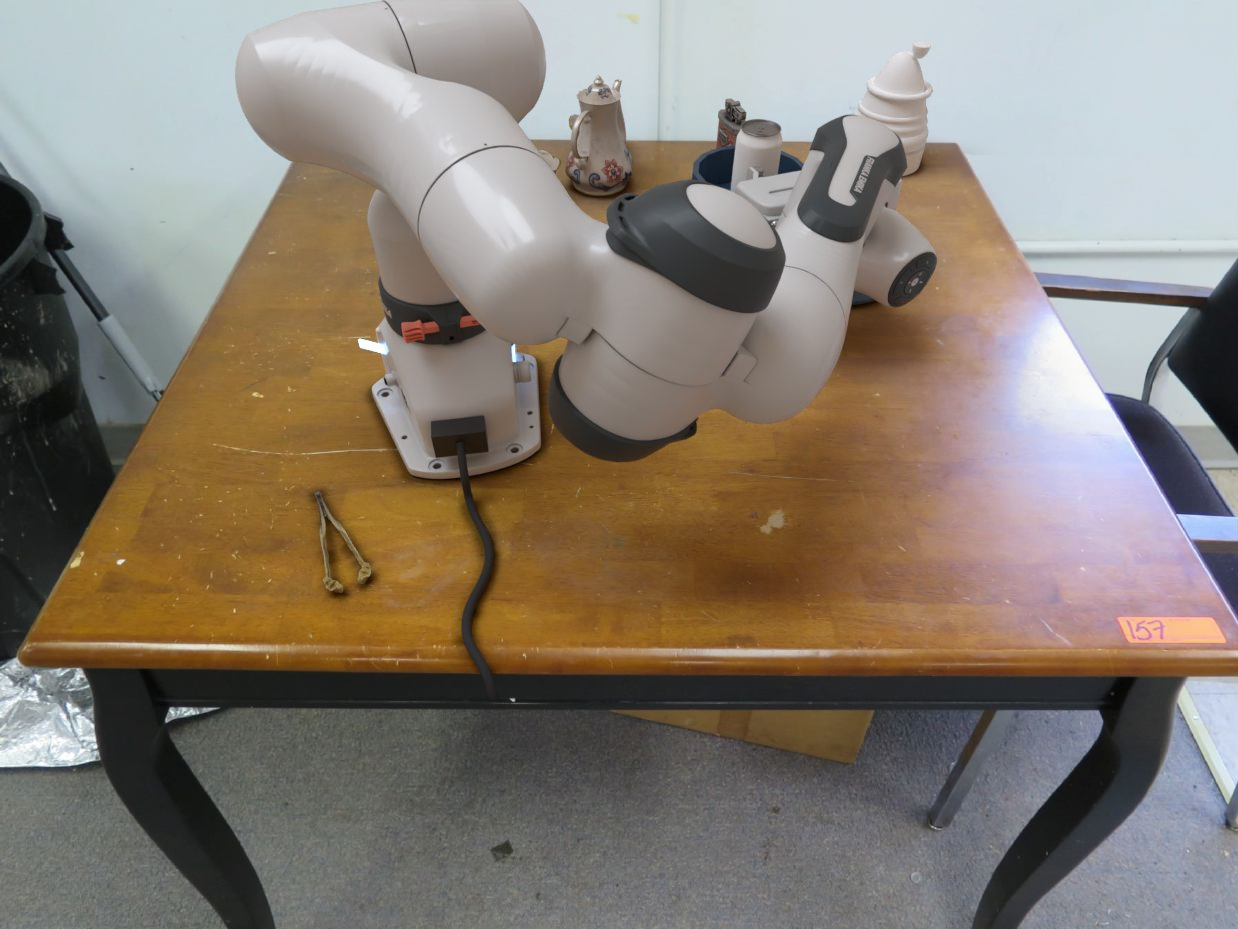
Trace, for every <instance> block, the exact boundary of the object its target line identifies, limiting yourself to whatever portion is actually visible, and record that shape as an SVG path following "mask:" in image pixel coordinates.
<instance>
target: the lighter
mask: <svg viewBox="0 0 1238 929" xmlns="http://www.w3.org/2000/svg"><path fill="white" fill-rule="evenodd" d="M717 119H718V125H717V136H716V146H715V149H716V148H719V147H726V146H734V145H736V139H737V135H738V133H739V131H740V130H741V125H742V123H743V122H745V121H747V120H746V119H747V111H746V110H745V109H744V108H743V107H742V106H741V102H740V100H734V99H733V98H732V97H731V98H725V101H724V109H720V110H718V113H717Z"/></svg>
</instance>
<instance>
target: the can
mask: <svg viewBox="0 0 1238 929" xmlns="http://www.w3.org/2000/svg"><path fill="white" fill-rule="evenodd" d="M782 147H783V136H782V127H781V125H780V124H779V123H777V122H775V121H773V120H770V119H764V118H753V119H748V120H746V121H745V122H743V123H742V125H741V130H740V131H739V133H738V135H737V139H736V146H735V155H734V163H733V172H732V181H731V190H730V191H732V192H734V193H735V190H736V187H737V185H738V183H739V182H741V181H745V180H747V170H748V168H750V167H756V166H759V167H760V168H762V169H763V170H764V173H763V176H762V177H768V176H773V175H777V174H778V168H779V161H780V155H781V151H782Z"/></svg>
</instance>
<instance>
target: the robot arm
mask: <svg viewBox="0 0 1238 929" xmlns="http://www.w3.org/2000/svg"><path fill="white" fill-rule="evenodd" d="M235 61H236V62H235V68H234V81H235V82H234V83H235V90H236V94H237V99H238V102H239V105H240V108H241V110H242V113H243V115H244V117H245V119H246V121H247V122H248V124H249V126H250V127H251V129H252V130H253V131H254V134H256V136H258V138H259V139H260V140H261V141H262V142H263V143H264V144H265V145H266V146H267V147H268V148H270V149H271V150H272V151H273V152H274V153H276V154H277V155H278V156H279V157H281V158H284V159H285V160H287V161H289V162H293V163H294V162H295V163H302V164H309V165H314V166H315V165H316V166H320V167H325V168H327V169H328V168H329V169H330V170H331V169H332V170H333V171H334V170H335V171H337V172H341V173H343V174H346V175H348V176H351V177H353V178H356V180H360V181H361V182H363V183H366V184H367V185H369V186H370V187H372V188H375V191H374V192H373V194H372V196H371V199H370V202H369V205H368V209H367V213H366V224H367V228H368V232H369V236H370V241H371V244H372V249H373V253H374V256H375V260H376V264H377V269H378V272H379V276H378V280H377V281H378V282H377V285H378V291H379V292H378V295H379V299H380V304H381V307H382V309H383V312H384V317H383V319H382V320H381V322H380V323H379V324H378V326H377V327H376V328H375V334H376V339H377V342H374V341H370V340H368V339H367V340H366V339H362V338H359V339H357V341H358V345H359V348H360V349H364V350H369V351H372V352H376V353H380V355H381V359H382V362H383V367H384V371H385V374H384V375H383V377H381V378H379V379H378V380H377V381H375V383H374V384H373V385H372V386H371V394H372V399H373V400H374V403H375V404H376V407H377V409H378V411H379V413H380V415H381V418H382V419H383V422H384V424H385V426H386V428H387V430H388V432H389V434H390V436H391V438H392V441H393V443H394V445H395V447H396V449H397V451H398V453H399V455H400V457H401V460H402V462H403V464H404V466H405V468H406V470H407V472H408V473H409V475H411V476H414V477H417V478H423V479H431V480H445V479H446V480H447V479H448V480H449V479H457V478H460V483H461V487H462V488H461V489H462V494H463V497H464V502H465V505H466V508H467V510H468V514H469V516H470V518H471V520H472V522H473V524H474V525H475V528H476V531H477V532H478V534H479V537H480V538H481V541H482V544H483V549H484V550H483V551H484V562H483V567H482V570H481V572H480V575H479V578H478V579H477V581H476V583H475V585H474V587H473V589H472V590H471V593H470V594H469V596H468V598H467V601H466V602H465V605H464V608H463V611H462V615H461V625H460V628H461V629H460V630H461V637H462V642H463V644H464V647H465V649H466V651H467V653H468V655H469V656H470V658H471V660H472V662H473V663H474V665H475V666H476V669H477V670H478V672H479V674H480V676H481V680H482V681H483V684H484V688H485V692H486V695H487V698H488V699H490V700H495V699H496V698H497V697H498V690H497V686H496V682H495V679H494V676H493V673H492V671H491V669H490V667H489V665H488V663H487V661H486V659H485V658H484V656H483V654H482V653H481V652H480V650H479V648H478V646H477V645H476V642H475V640H474V638H473V632H472V619H473V615H474V611H475V609H476V606H477V603H478V601H479V599H480V597H481V595H482V594H483V591H484V590H485V588H486V586H487V584H488V581H489V579H490V577H491V574H492V572H493V567H494V560H495V553H494V545H493V541H492V538H491V534H490V533H489V530H488V529H487V526H486V524H485V523H484V521H483V520H482V517H481V515H480V513H479V510H478V509H477V506H476V502H475V499H474V495H473V492H472V486H471V481H470V477H472V476H477V475H481V474H482V475H483V474H486V473H491V472H494V471H495V472H496V471H498V470H501V469H504V468H507V467H511V466H513V465H516V464H518V463H520V462H523V461H524V460H526V459H528V458H529V457H531V456H533V455H534V454H535V453H537V452H538V451H539V450H540V449H541V447H542V432H541V431H542V430H541V428H542V427H541V407H540V388H539V368H538V363H537V359H536V358H535V357H534V356H533V355H530V354H527V353H524V352H518V347H517V346H527V347H528V346H539V345H543V344H548V343H551V342H553V341H556V340H558V339H560V338H563V339H565V340H567V343H566V346H565V348H564V351H563V353H562V354H561V355H559V357H558V358H557V359H556V361H555V363H554V366H553V371H552V373H551V377H550V380H549V384H548V385H549V386H548V390H547V410H548V414H549V417H550V419H551V421H552V423H553V425H554V427H555V428H556V429H557V431H558V432H559V433H560V434H561V435H562V437H564V438H565V439H566V440H567V441H568V443H570V444H571V445H572V446H573V447H575V448H576V449H578V450H579V451H580V452H581V453H584V454H585V455H588V456H590V457H592V458H594V459H598V460H601V461H605V462H613V463H631V462H637V461H639V460H643V459H646V458H647V457H649V456H651V455H654V454H655V453H656V452H658V451H660V450H662V449H664V448H666V446H668V445H670V444H673V443H677V442H681V441H686V440H689V439H690V438H692V437H694V436H695V435H696V434H697V432H698V431H697V429H698V420H699V419H700V417H701V416H702V415H703V414H705V413H706V412H708V411H711V410H722V411H724V412H726V413H727V414H729V415H730V416H732V417H734V418H736V419H738V420H741V421H743V422H746V423H750V424H755V425H772V424H778V423H782V422H785V421H788V420H790V419H792V418H794V417H795V416H798V415H799V414H800V413H802V412H803V411H805V409H807V408H808V407H809V406H810V405H811V403H813V401H814V400H815V399H816V398H817V397H818V395H819V394H820V393H821V391H822V390H823V388H824V387H826V386H825V385H826V384H827V383H828V381H829V379H830V377H831V375H832V374H833V372H834V370H835V368H836V366H837V363H838V361H839V359H840V357H841V353H842V351H843V347H844V343H845V340H846V336H847V332H848V326H849V321H850V314H851V308H852V305H851V304H852V298H853V292H854V291H856V292H859V293H862V294H864V295H867V296H869V297H871V298H872V299H874V300H875V302H877V303H879V304H881V305H882V306H884V307H888V308H892V309H893V308H894V309H895V308H896V309H897V308H900V307H903V306H905V305H907V304H909V303H910V302H911V301H913V300H914V299H915V298H917V296H919V295H920V294H921V293H922V292H923V290H924V289H925V287H926V286H927V284H928V283H929V282H930V279H931V278H932V276H933V274H934V272H935V270H936V267H937V264H938V256H937V253H936V251H935V249H934V247H933V245H932V244H931V243H930V241H929V240H928V239H927V238H926V237H925V236H924V234H923V233H922V232H921V231H920V230H919V229H918V228H917V227H916V226H915V225H914V224H913V223H912V222H910V221H909V220H908V219H907V218H906V217H905V216H903V215H902V214H901V213H900V212H899V211H897V207H898V203H899V200H900V196H901V190H902V185H903V179H902V178H903V176H902V175H903V174H904V172H905V171H906V169H907V160H906V154H905V150H904V147H903V144H902V141H901V139H900V137H899V136H898V135H897V134H896V133H895V132H893V131H892V130H891V129H889V128H888V127H887V126H885V125H884V124H882V123H880V122H878V121H876V120H873V119H870V118H867V117H863V116H858V115H853V114H844V115H841V116H838V117H835V118H834V119H831V120H829V121H827V122H826V123H824V124H823V125H821V126H819V127H818V128H817V129H816V131H815V134H814V136H813V139H812V142H811V144H810V146H809V152H808V154H807V157H806V158H805V161H804V162H803V164H804V165H803V167H802V170H801V171H795V172H790V173H784V174H779V175H773V176H768V177H762V176H763V173H764V170H763V169H762V168H760V167H759V166H756V167H750V168H748V170H747V180H745V181H741V182H739V183H738V185H737V187H736V190H735V193H734V192H732V191H729V190H727V189H724V188H721V187H719V186H716V185H714V184H711V183H708V182H704V181H699V180H689V179H686V180H687V181H682V180H679V181H680V182H676V181H672V182H667V183H664V184H657V185H654V186H653V187H651V188H649V189H647V190H645V191H644V192H642V193H640V194H638V193H634V192H626V193H623V194H620V195H618V196H617V197H616V198H614V199H613V200H612V201H611V202H610V203H609V204H608V206H607V208H606V213H605V215H606V221H607V223H604V222H602V221H600V220H597V219H595V218H593V217H591V216H590V215H588V214H586V212H584V211H583V210H582V209H581V208H580V207H579V206H578V205H577V203H576V202H575V201H574V199H573V198H572V197H571V195H570V194H569V193H568V191H567V189H566V188H565V186H564V185H563V183H562V182H561V180H560V179H559V177H558V176H557V174H555V173H554V172H553V170H552V169H551V168H550V166H549V165H548V163H547V162H546V161H545V159H544V158H543V157H542V155H541V154H540V153H539V151H538V150H539V149H537V147H536V146H535V144H534V143H533V141H531V139H530V137H528V135H527V134H526V132H525V131H524V130H523V128H522V127H521V125H520V123H521V122H522V121H523V119H525V118H526V116H527V115H528V114H529V113H530V112H531V111H533V109H534V108H535V107H536V105H537V103H538V101H539V100H540V97H541V95H542V92H543V89H544V85H545V81H546V75H547V74H546V73H547V55H546V48H545V44H544V39H543V37H542V33H541V31H540V30H539V27H538V24H537V23H536V21H535V19H534V18H533V16H532V14H531V13H530V12H529V10H528V9H527V7H525V6H524V4H522V2H521V1H520V0H378V1H377V0H376V1H371V2H365V3H357V4H351V5H344V6H337V7H330V8H323V9H316V10H310V11H303V12H300V13H297V14H294V15H292V16H289V17H285V18H283V19H280V20H277V21H275V22H272V23H270V24H268V25H265V26H262V27H261V28H258V29H256V30H253V31H251V32H248V33H247V34H246V35H245V37H244V39H243V40H242V42H241V44H240V47H239V50H238V53H237V56H236V60H235Z"/></svg>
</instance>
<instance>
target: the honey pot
mask: <svg viewBox="0 0 1238 929" xmlns="http://www.w3.org/2000/svg"><path fill="white" fill-rule="evenodd" d="M931 47H932V45H931V43H930V42H926V41H914V42H913V43H912V47H911V48H912V50H911V51H909V50H901V51H900V52H898V53H896V54H895V55H893V56H892V57H890V59H889V60H887V61H886V63H885V64H884V65H883V66H882V67H881V69H880V70H879V71H878V73H877V74H876V75H874V76H871V77H870V78H869V79H868V80H867V82H866V85H865V86H866V89H867V90H866V91H865V93H864V95H863V97H862V98H861V99H860V100H859V101H858V103H857V107H856V108H855V109H854V111H853V113H852V115H858V116H863V117H867V118H870V119H873V120H876V121H878V122H880V123H882V124H884V125H885V126H887V127H888V128H889V129H891V130H892V131H893V132H895V133H896V134H897V135H898V136H899V137H900V139H901V141H902V144H903V147H904V150H905V154H906V160H907V169H906V171H905V172H904V174H903V175H902V177H905V176H909V175H912V174H913V173H915V172H916V171H917V170H919V167H920V165H921V162H922V159H923V155H924V151H925V148H926V144H927V139H928V138H929V128H928V121H929V120H928V116H927V115H928V113H929V110H928V106H927V99H928V98H930V97H931V96H932V94H933V92H934V90H933V86H932V85H931V83H929V81H927V80H925V79H924V76H923V71H922V68H921V65H920V62H919V60H920V59H923V58H925V57H926V56H927V55H928V53H929V52H930V49H931Z"/></svg>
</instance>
